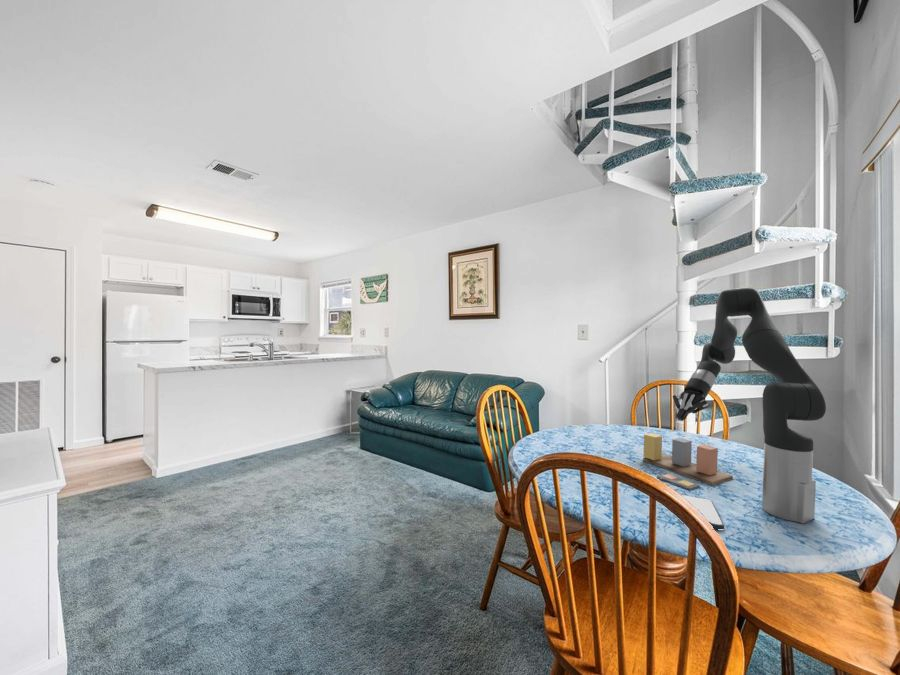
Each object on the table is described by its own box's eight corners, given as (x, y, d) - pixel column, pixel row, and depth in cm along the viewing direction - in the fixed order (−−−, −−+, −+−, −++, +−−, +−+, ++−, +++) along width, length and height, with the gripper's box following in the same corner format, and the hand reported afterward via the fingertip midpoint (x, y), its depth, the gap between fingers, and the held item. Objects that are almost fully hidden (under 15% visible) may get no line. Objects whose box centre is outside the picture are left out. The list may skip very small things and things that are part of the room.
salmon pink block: (716, 473, 119) (717, 447, 119) (709, 475, 117) (710, 449, 117) (703, 468, 123) (704, 444, 122) (696, 470, 121) (696, 446, 121)
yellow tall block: (661, 458, 132) (662, 435, 132) (654, 460, 130) (654, 437, 130) (650, 455, 135) (651, 433, 135) (643, 456, 134) (643, 434, 133)
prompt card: (699, 487, 112) (699, 484, 112) (689, 490, 110) (689, 487, 109) (667, 475, 121) (667, 472, 121) (657, 477, 118) (657, 475, 118)
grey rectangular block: (691, 464, 126) (691, 440, 126) (683, 466, 124) (684, 442, 124) (679, 460, 130) (679, 437, 130) (671, 462, 128) (672, 439, 128)
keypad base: (732, 479, 118) (732, 475, 118) (712, 485, 113) (712, 482, 113) (662, 456, 138) (662, 453, 138) (643, 460, 134) (643, 457, 134)
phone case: (674, 498, 106) (681, 524, 91) (674, 493, 106) (681, 517, 91) (712, 505, 102) (725, 533, 87) (712, 499, 102) (726, 526, 87)
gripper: (678, 375, 149) (658, 409, 144) (715, 379, 137) (694, 416, 132) (686, 387, 152) (666, 421, 147) (722, 393, 140) (702, 430, 135)
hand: (679, 419), depth 139 cm, fingers closed
